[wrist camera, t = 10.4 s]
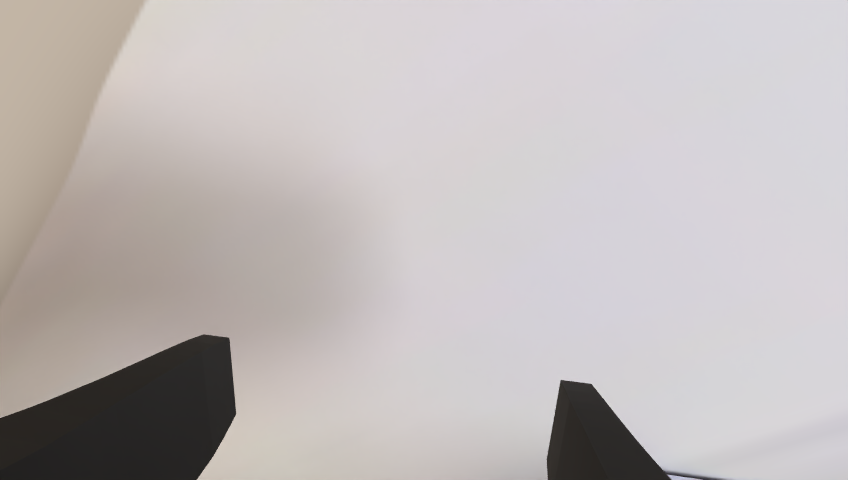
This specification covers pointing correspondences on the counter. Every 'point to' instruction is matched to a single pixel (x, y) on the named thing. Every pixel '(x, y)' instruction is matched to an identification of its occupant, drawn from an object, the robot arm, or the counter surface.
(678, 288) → the counter surface
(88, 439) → the robot arm
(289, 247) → the counter surface
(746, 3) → the counter surface
